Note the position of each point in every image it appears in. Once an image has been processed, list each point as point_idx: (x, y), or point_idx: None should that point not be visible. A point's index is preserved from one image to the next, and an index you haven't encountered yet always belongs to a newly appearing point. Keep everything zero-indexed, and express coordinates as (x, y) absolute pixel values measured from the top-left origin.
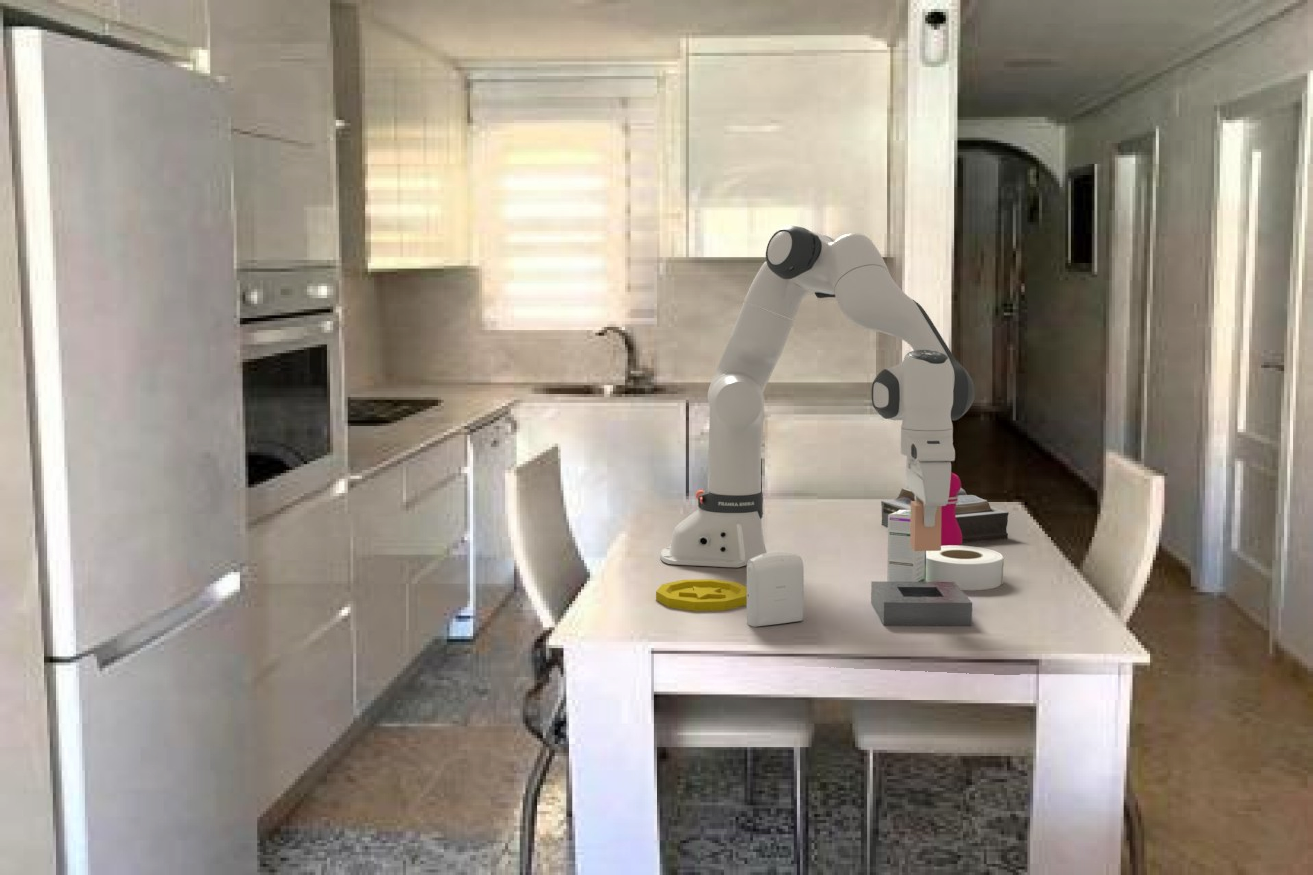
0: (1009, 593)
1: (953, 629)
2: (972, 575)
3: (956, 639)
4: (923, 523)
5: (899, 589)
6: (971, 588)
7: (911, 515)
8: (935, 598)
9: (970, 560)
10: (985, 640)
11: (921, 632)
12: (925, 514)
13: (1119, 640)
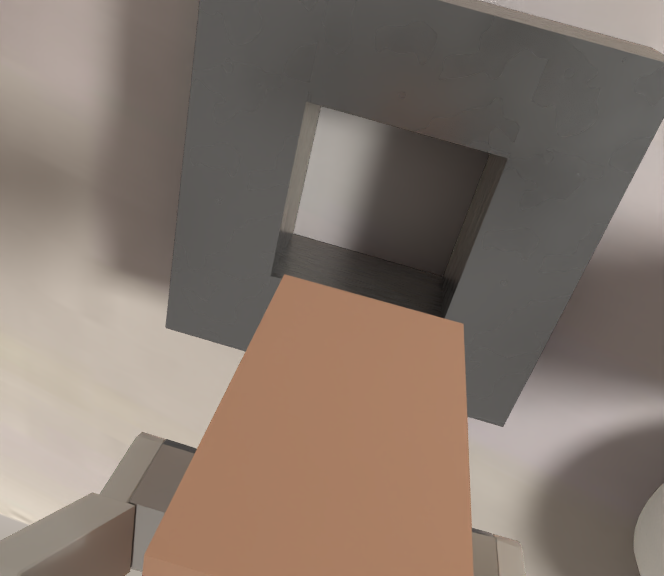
0: (548, 563)
1: (159, 204)
2: (661, 550)
3: (34, 153)
4: (177, 448)
5: (502, 166)
6: (647, 507)
7: (416, 490)
8: (249, 230)
9: None
10: (27, 238)
11: (124, 65)
12: (64, 511)
13: None
